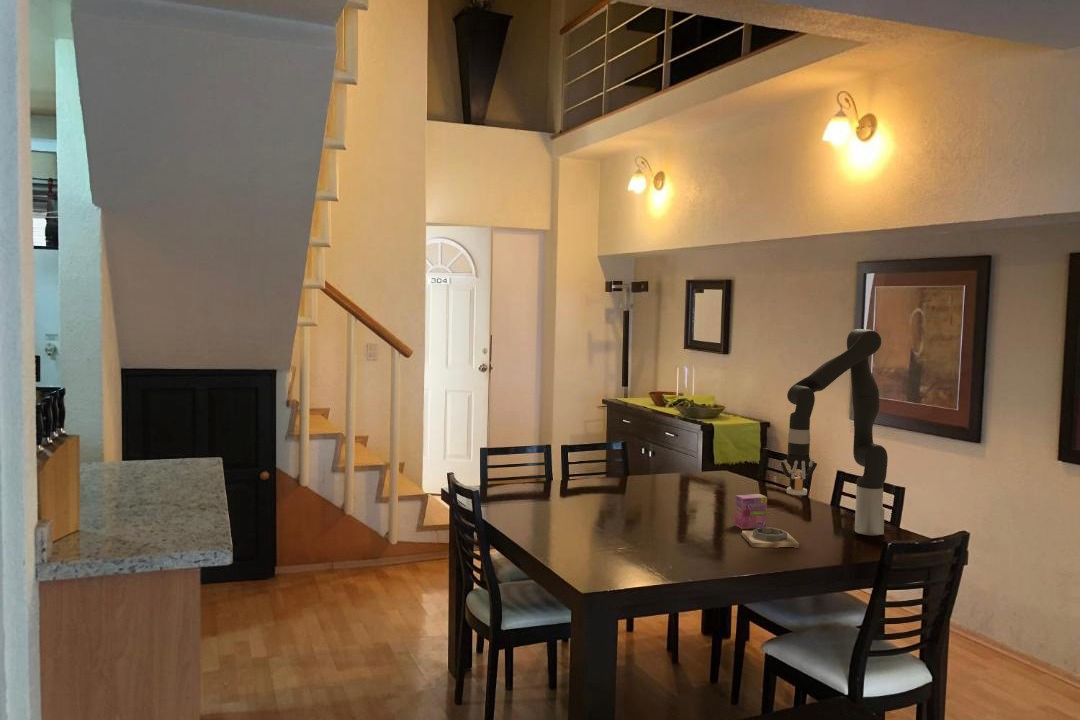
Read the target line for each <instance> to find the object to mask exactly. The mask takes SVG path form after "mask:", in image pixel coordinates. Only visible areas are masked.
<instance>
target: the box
mask: <svg viewBox="0 0 1080 720" xmlns="http://www.w3.org/2000/svg"><path fill="white" fill-rule="evenodd" d="M734 500H735V508H734V526H735V527H736V528H738V527H739V528H738V529H740V530H747V529H748V530H749V529H756V528H759V527H767V513H768V512H767V507H768V496H766V495H763V494H761V493H754V494H753V493H752V494H738V495H737V494H736V495H735V499H734Z"/></svg>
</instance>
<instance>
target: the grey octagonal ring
mask: <svg viewBox="0 0 1080 720" xmlns="http://www.w3.org/2000/svg"><path fill="white" fill-rule="evenodd" d="M752 531H753V536H754V537H755V538H756V539H761V540H765V541H783V540H785V539H787V533H788V532H787V531H786V530H784V529H780V528H775V527H768V526H766V527H759V528H752ZM785 531H786V532H787V533H786V532H785ZM769 534H774V535H769Z"/></svg>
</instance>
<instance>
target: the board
mask: <svg viewBox="0 0 1080 720" xmlns="http://www.w3.org/2000/svg"><path fill="white" fill-rule="evenodd" d="M784 531H785V532H786V533H787V539H785V540H783V541H765V540H761V539H756V538H755V537H754V536H753V530H742V531H741V536H742V537H743V538H744V539H745V541H746V542H747V543H748V542H749V543H748V544H749V545H750V546H751V548H779V547H794V549H795V548H796V549H797V548H798V549H799V548H800V543H799V542H798V541H797V540H796V539H795V538H794V537H793V536H792V535H790V534H789V533H788V532H787V531H786V530H784ZM769 535H774V534H769Z"/></svg>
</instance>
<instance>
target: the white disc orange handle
mask: <svg viewBox="0 0 1080 720" xmlns="http://www.w3.org/2000/svg"><path fill="white" fill-rule="evenodd" d="M794 479H795V488H794V489H791V487H790V486H789V487H786V493H787V494H788V495H793V496H807V495H808V489H807V488H805V487H804V488H803V490H802V485H803V479H801V477H800V476H795V477H794Z"/></svg>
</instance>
